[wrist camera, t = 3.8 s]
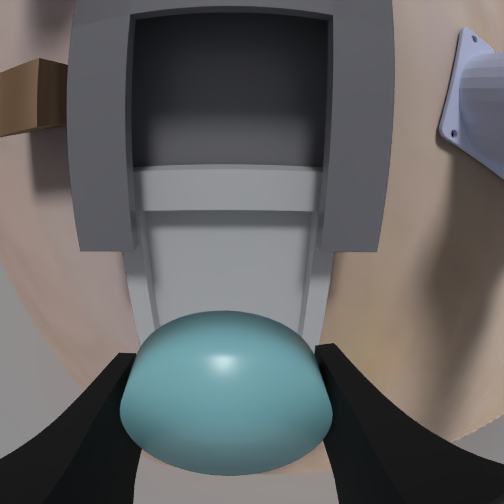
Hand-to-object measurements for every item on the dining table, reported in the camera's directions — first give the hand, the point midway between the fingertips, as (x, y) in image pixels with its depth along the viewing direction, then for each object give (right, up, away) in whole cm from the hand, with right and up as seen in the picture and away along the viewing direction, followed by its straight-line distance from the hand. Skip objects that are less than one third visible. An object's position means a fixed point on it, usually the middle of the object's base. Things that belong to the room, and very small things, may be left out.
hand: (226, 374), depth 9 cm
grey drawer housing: (0, +11, +4) cm, 11 cm away
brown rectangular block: (-10, +12, +3) cm, 16 cm away
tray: (0, +3, +8) cm, 8 cm away
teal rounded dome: (0, 0, -1) cm, 1 cm away
